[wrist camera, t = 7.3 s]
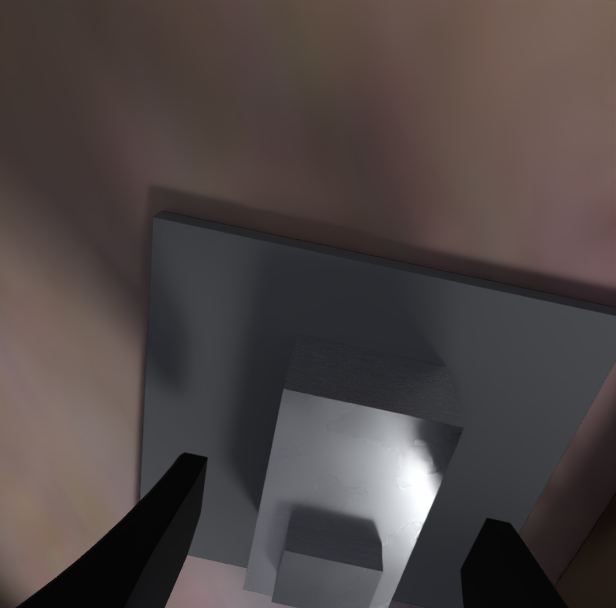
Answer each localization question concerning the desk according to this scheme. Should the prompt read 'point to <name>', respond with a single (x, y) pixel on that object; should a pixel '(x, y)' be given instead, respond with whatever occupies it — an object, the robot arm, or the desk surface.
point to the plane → (593, 567)
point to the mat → (368, 334)
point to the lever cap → (350, 474)
